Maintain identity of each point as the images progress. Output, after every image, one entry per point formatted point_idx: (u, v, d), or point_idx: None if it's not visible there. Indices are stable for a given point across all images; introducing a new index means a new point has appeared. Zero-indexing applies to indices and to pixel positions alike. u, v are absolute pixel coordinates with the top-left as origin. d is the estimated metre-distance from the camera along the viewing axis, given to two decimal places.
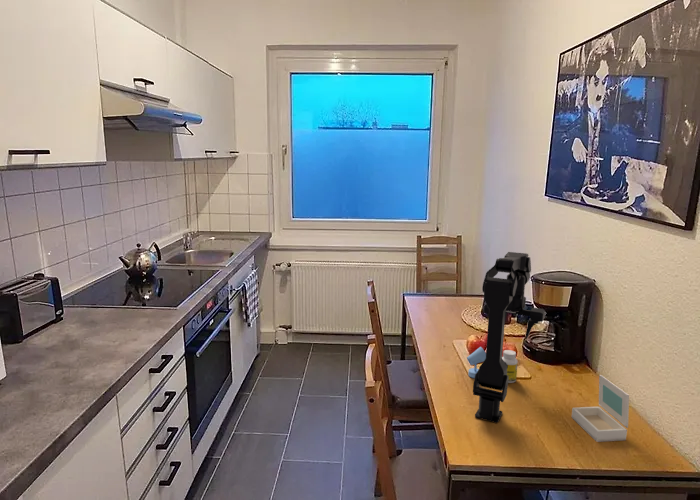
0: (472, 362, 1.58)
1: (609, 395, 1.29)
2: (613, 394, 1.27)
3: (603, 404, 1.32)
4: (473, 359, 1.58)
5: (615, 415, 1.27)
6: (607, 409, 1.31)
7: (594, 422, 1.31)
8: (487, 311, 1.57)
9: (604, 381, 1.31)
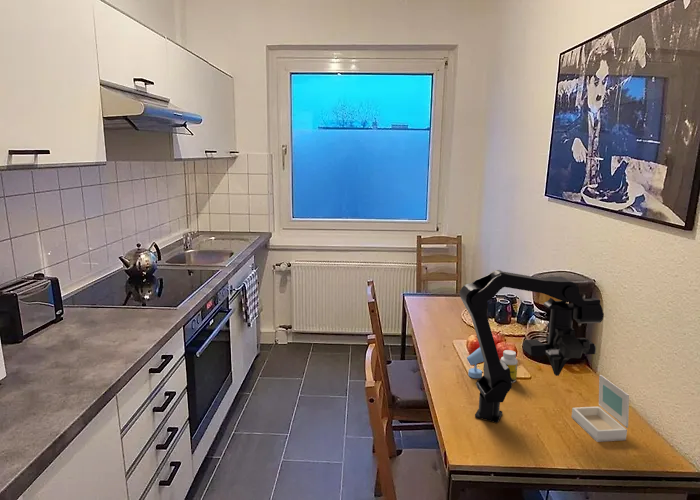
0: (472, 362, 1.58)
1: (609, 395, 1.29)
2: (613, 394, 1.27)
3: (603, 404, 1.32)
4: (473, 359, 1.58)
5: (615, 415, 1.27)
6: (607, 409, 1.31)
7: (594, 422, 1.31)
8: None
9: (604, 381, 1.31)
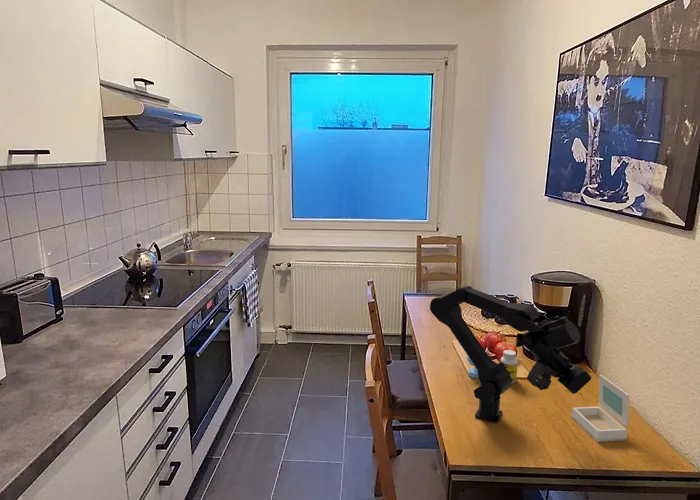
0: (472, 362, 1.58)
1: (609, 395, 1.29)
2: (613, 394, 1.27)
3: (603, 404, 1.32)
4: None
5: (615, 415, 1.27)
6: (607, 409, 1.31)
7: (594, 422, 1.31)
8: None
9: (604, 381, 1.31)
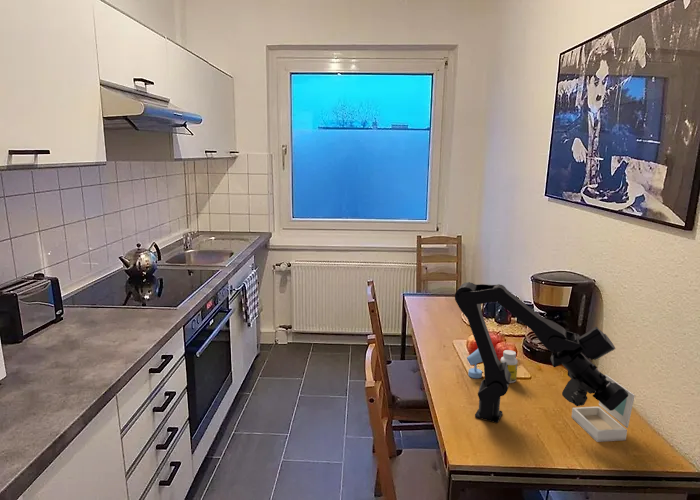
0: (472, 362, 1.58)
1: None
2: None
3: None
4: (473, 359, 1.58)
5: (615, 415, 1.27)
6: (607, 409, 1.31)
7: (594, 422, 1.31)
8: None
9: None
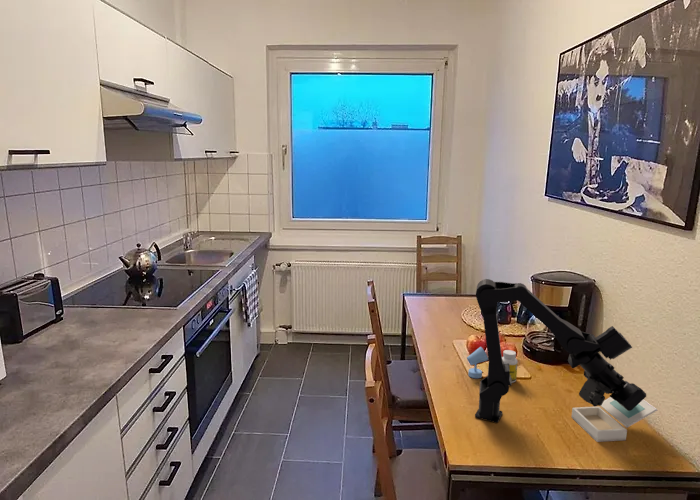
0: (472, 362, 1.58)
1: None
2: None
3: (607, 405, 1.33)
4: (473, 359, 1.58)
5: (618, 415, 1.27)
6: (609, 409, 1.31)
7: (594, 422, 1.31)
8: None
9: None
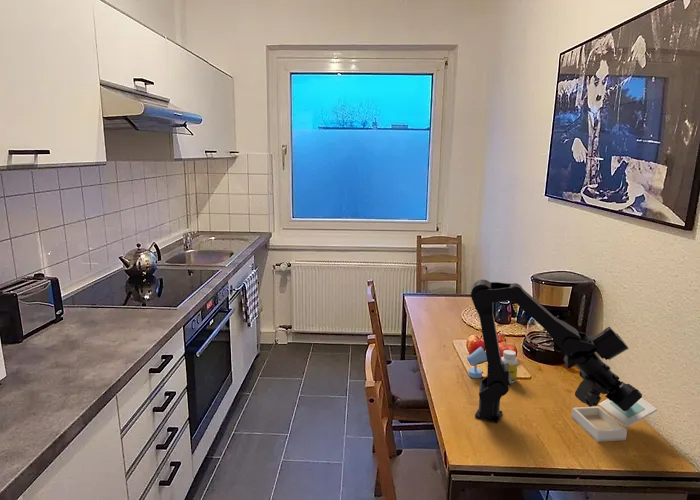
0: (472, 362, 1.58)
1: None
2: None
3: (607, 405, 1.33)
4: (473, 359, 1.58)
5: (618, 415, 1.27)
6: (609, 409, 1.31)
7: (594, 422, 1.31)
8: None
9: None
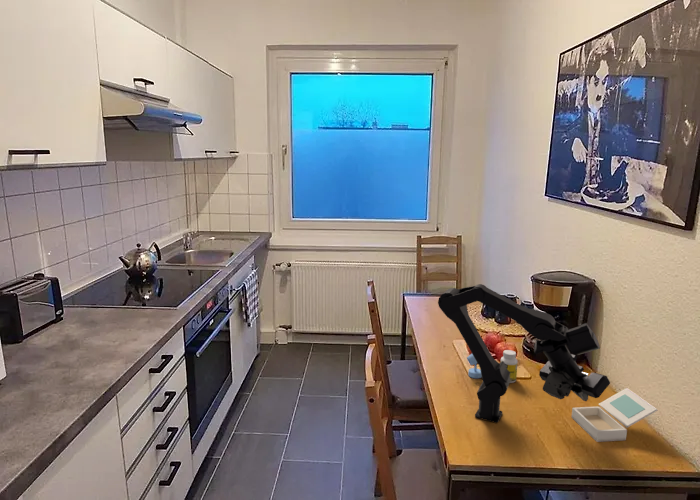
0: (472, 362, 1.58)
1: (626, 402, 1.30)
2: (633, 403, 1.28)
3: (607, 405, 1.33)
4: (473, 359, 1.58)
5: (618, 415, 1.27)
6: (609, 409, 1.31)
7: (594, 422, 1.31)
8: None
9: (629, 393, 1.32)
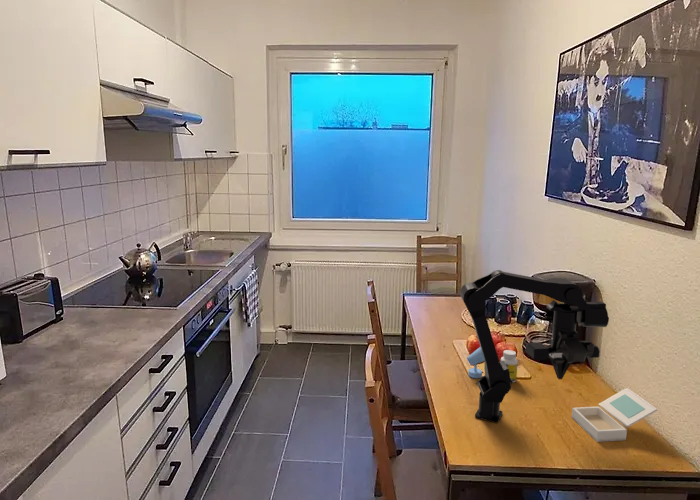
0: (472, 362, 1.58)
1: (626, 402, 1.30)
2: (633, 403, 1.28)
3: (607, 405, 1.33)
4: (473, 359, 1.58)
5: (618, 415, 1.27)
6: (609, 409, 1.31)
7: (594, 422, 1.31)
8: None
9: (629, 393, 1.32)
